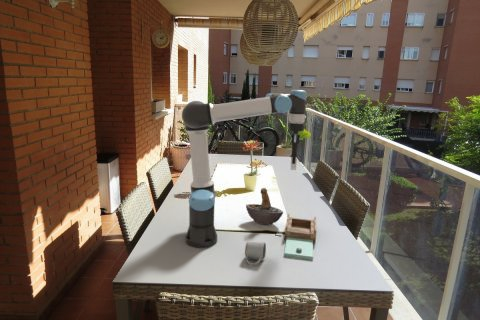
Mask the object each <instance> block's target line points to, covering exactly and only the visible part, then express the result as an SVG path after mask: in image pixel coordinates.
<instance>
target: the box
mask: <svg viewBox="0 0 480 320" xmlns="http://www.w3.org/2000/svg"><path fill="white" fill-rule="evenodd" d="M284 227H285V229H284V240H287V237H291V238H300V239H308V240H313V244H316V239H317V217H316V216H314V217H313V219H305V218H296V217H291V216H290V213H287V216H286V223H285V226H284Z"/></svg>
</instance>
